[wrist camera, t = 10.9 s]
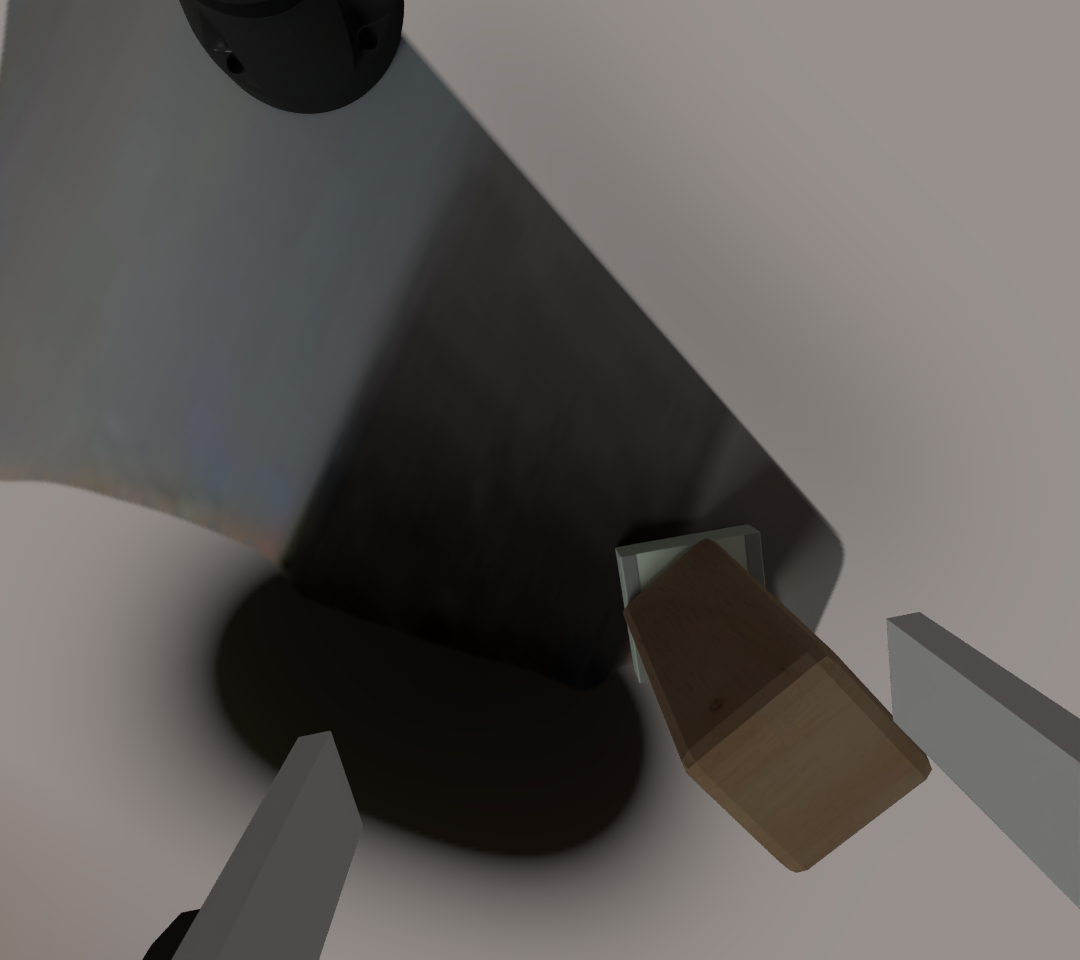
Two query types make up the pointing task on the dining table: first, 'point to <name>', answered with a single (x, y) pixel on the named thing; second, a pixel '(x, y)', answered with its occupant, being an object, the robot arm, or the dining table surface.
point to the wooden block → (767, 710)
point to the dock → (657, 556)
